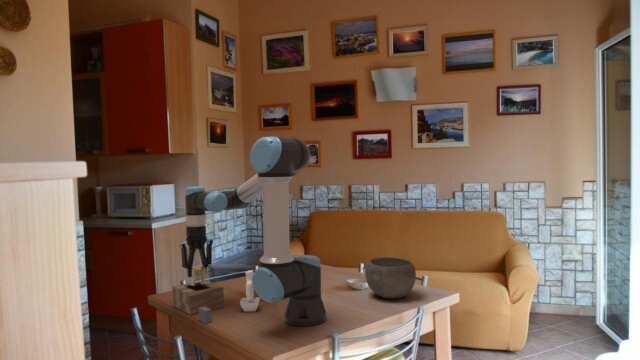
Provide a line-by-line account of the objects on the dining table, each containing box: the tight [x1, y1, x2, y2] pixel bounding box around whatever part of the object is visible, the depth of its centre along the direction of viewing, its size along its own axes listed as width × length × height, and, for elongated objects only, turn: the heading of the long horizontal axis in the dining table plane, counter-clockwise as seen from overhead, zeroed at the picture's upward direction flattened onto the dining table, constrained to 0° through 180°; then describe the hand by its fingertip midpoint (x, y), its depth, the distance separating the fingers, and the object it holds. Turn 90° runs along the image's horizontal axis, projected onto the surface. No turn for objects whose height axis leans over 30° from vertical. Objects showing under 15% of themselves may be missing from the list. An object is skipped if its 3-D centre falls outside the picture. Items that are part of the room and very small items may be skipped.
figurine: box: [239, 269, 261, 313], centre depth 176 cm, size 7×9×15 cm
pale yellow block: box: [192, 264, 208, 277], centre depth 181 cm, size 8×4×2 cm, turn 41°
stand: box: [198, 307, 212, 324], centre depth 164 cm, size 5×2×4 cm, turn 41°
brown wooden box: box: [172, 280, 225, 316], centre depth 181 cm, size 16×14×8 cm
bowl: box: [364, 256, 417, 300], centre depth 190 cm, size 21×21×15 cm
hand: (197, 283), depth 181 cm, fingers closed on pale yellow block, 4 cm apart
